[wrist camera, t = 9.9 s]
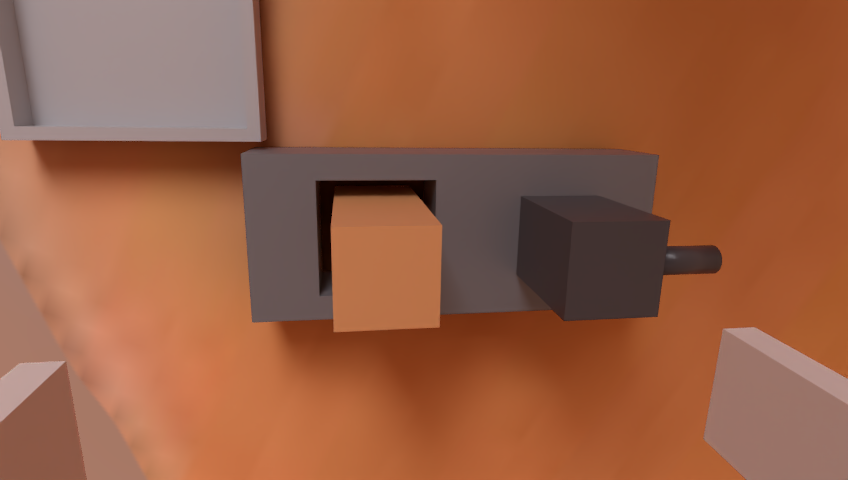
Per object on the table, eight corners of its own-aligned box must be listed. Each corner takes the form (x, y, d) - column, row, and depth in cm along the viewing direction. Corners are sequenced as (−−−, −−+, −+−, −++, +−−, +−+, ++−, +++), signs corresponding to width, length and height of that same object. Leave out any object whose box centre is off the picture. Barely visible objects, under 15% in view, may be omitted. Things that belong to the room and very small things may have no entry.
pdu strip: (255, 147, 27) (205, 169, 17) (618, 148, 30) (748, 168, 20) (264, 293, 29) (224, 386, 19) (604, 282, 32) (716, 357, 22)
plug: (335, 186, 28) (330, 226, 18) (409, 185, 29) (442, 225, 19) (336, 257, 29) (333, 332, 19) (408, 255, 30) (439, 327, 20)
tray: (-17, -127, 23) (-50, -149, 21) (252, -107, 24) (245, -126, 22) (27, 137, 25) (1, 140, 23) (267, 139, 27) (260, 141, 25)
